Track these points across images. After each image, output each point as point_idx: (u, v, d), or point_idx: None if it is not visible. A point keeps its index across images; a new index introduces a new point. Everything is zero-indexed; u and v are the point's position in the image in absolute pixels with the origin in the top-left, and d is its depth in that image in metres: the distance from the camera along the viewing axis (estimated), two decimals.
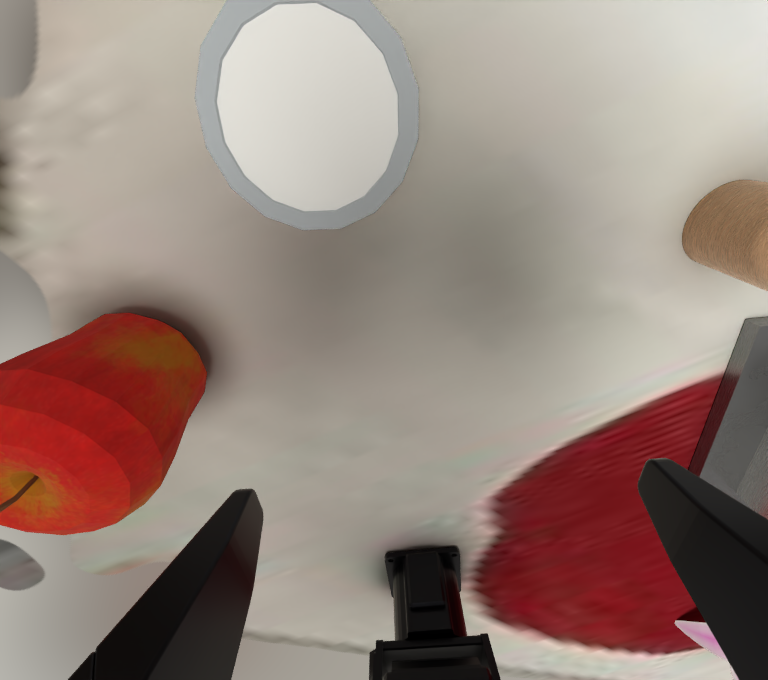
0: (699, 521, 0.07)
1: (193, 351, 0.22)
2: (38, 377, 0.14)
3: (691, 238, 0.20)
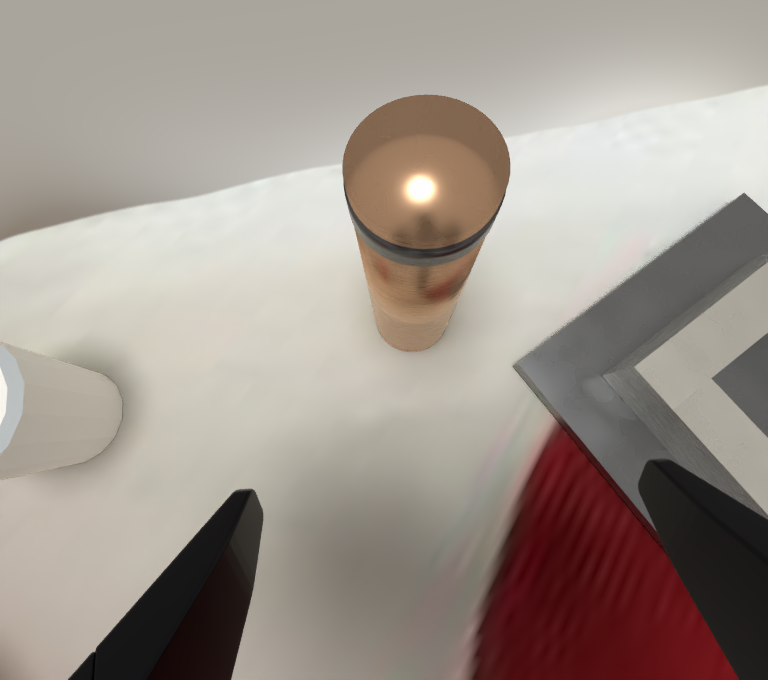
0: (699, 521, 0.07)
1: None
2: None
3: (386, 339, 0.23)
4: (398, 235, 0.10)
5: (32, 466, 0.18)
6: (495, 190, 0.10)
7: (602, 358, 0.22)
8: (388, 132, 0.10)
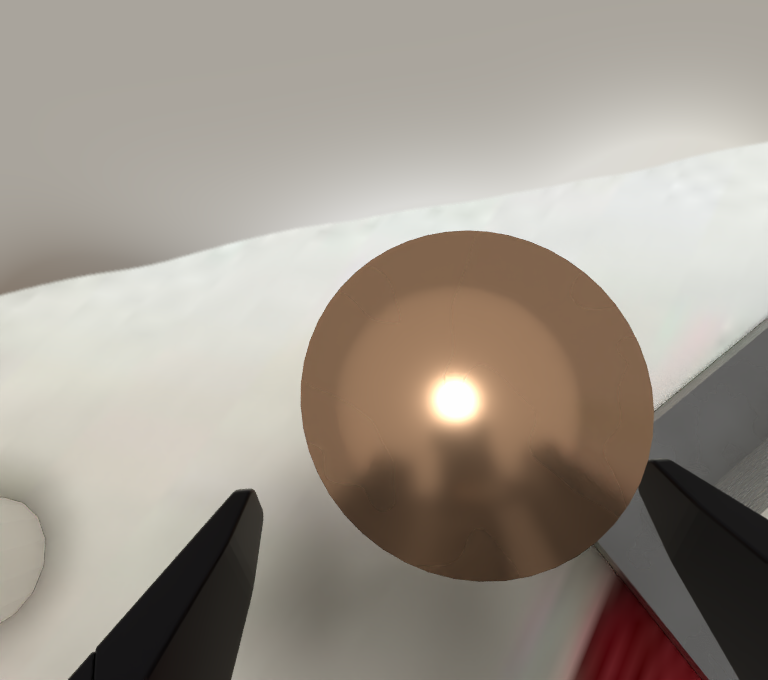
0: (699, 521, 0.07)
1: None
2: None
3: None
4: (420, 566, 0.04)
5: None
6: (627, 455, 0.05)
7: None
8: (394, 312, 0.05)
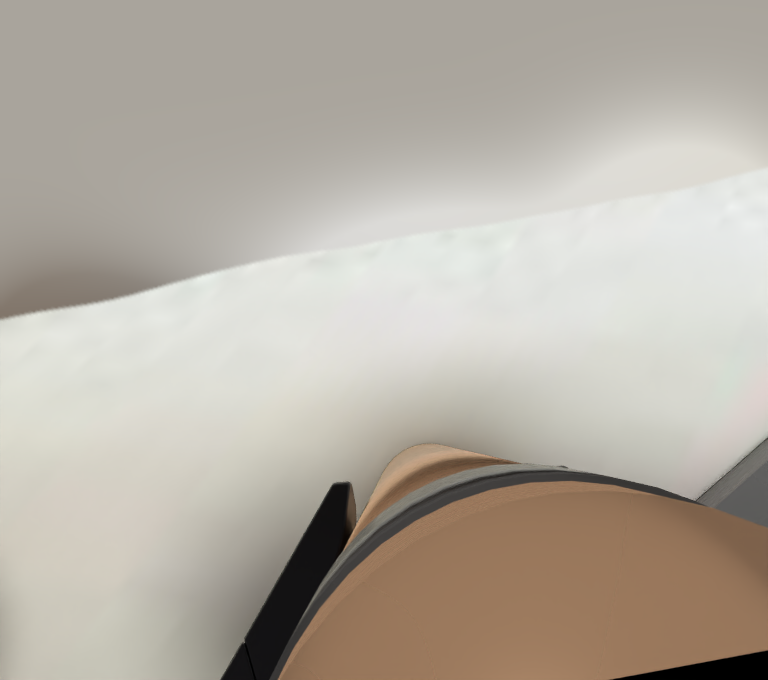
0: None
1: None
2: None
3: None
4: None
5: None
6: None
7: None
8: None
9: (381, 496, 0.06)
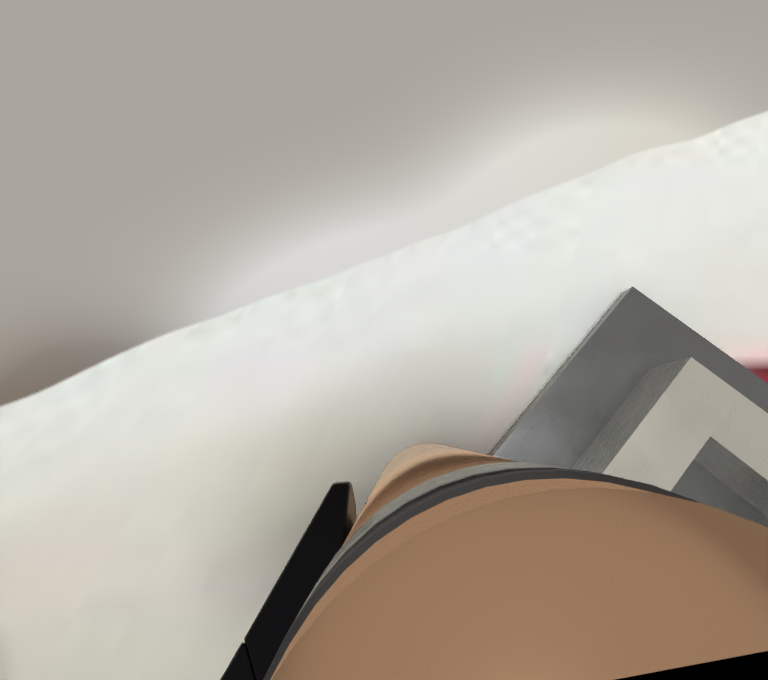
0: None
1: None
2: None
3: None
4: None
5: None
6: None
7: None
8: None
9: (379, 495, 0.06)
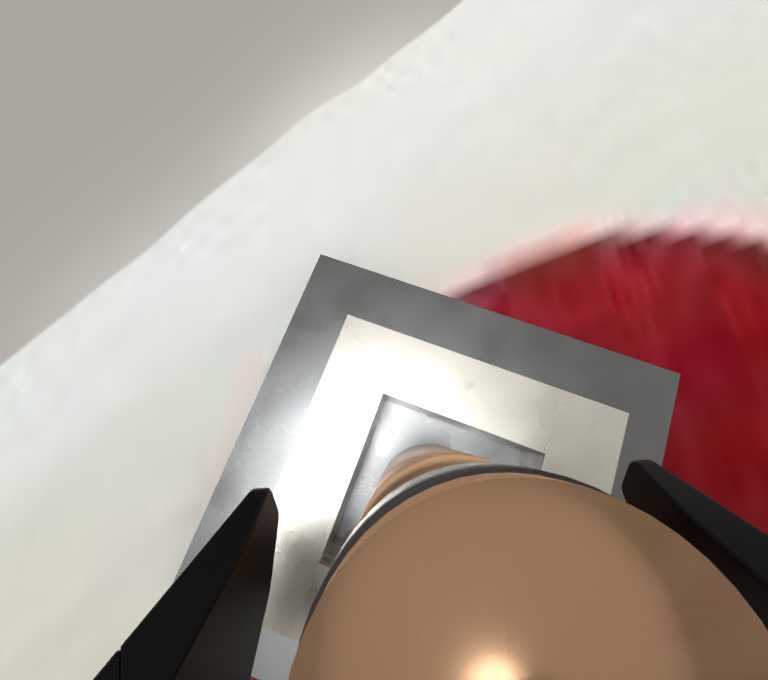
0: (678, 522, 0.07)
1: None
2: None
3: None
4: None
5: None
6: None
7: None
8: (419, 619, 0.03)
9: (384, 488, 0.07)
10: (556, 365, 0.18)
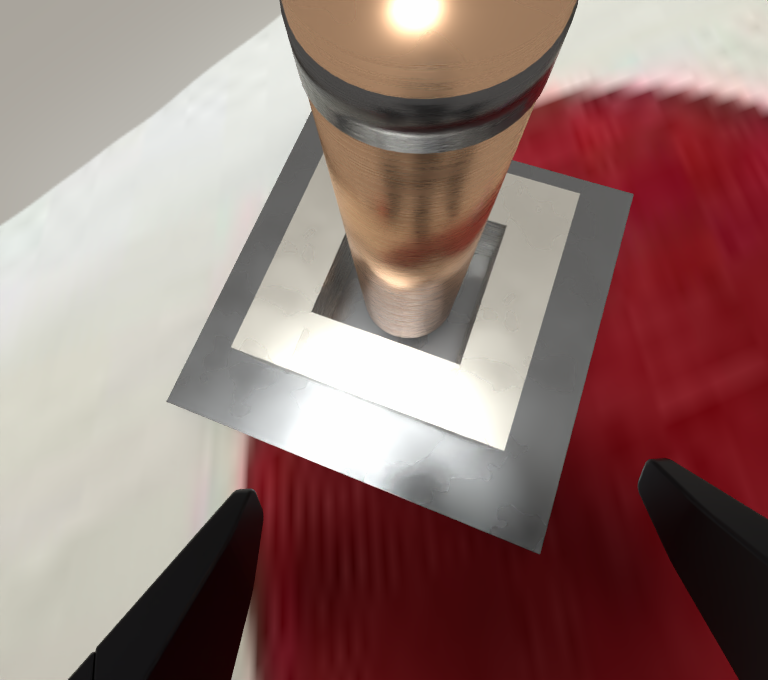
0: (699, 521, 0.07)
1: None
2: None
3: (376, 321, 0.18)
4: (376, 57, 0.05)
5: None
6: None
7: None
8: None
9: None
10: None
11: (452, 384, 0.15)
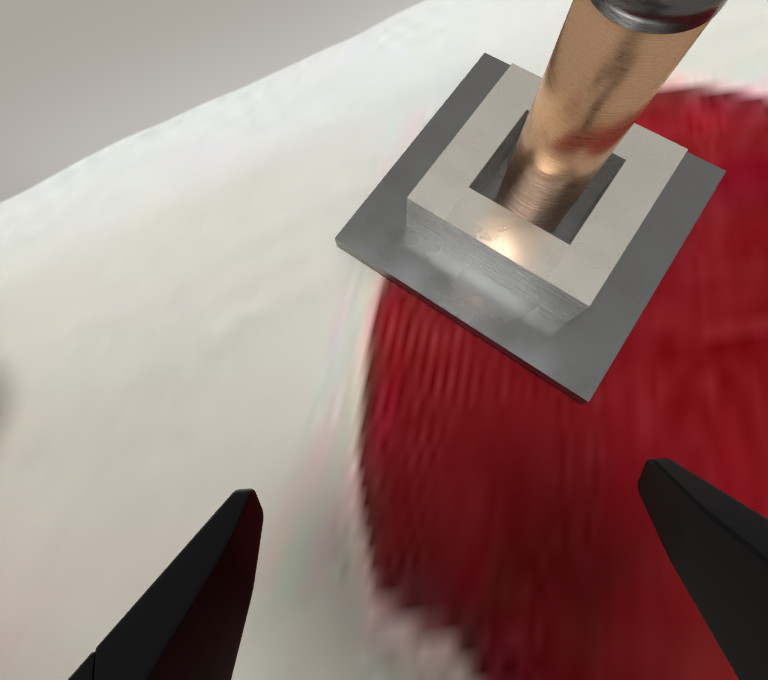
0: (699, 521, 0.07)
1: None
2: None
3: None
4: None
5: None
6: None
7: (403, 212, 0.25)
8: None
9: None
10: None
11: (561, 256, 0.20)
